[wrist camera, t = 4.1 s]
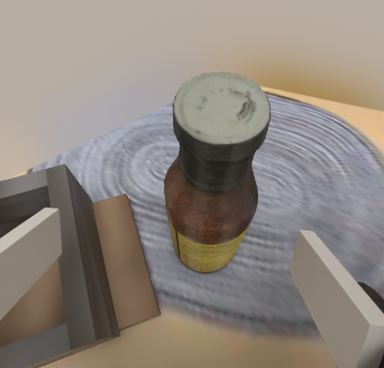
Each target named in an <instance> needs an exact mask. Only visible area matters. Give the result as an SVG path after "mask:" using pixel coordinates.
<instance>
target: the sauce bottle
mask: <svg viewBox="0 0 384 368" xmlns="http://www.w3.org/2000/svg"><path fill="white" fill-rule="evenodd" d="M270 117H271V109H270V103H269V101H268V98H267V96H266V94H265V92H264V91H263V90H262V89H261V87H260V86H259V85H258V84H256V83H255V82H254V81H252V80H250V79H248V78H247V77H244V76H241V75H237V74H232V73H224V72H220V73H205V74H201V75H199V76H196V77H194V78H192V79H191V80H189V81H187V82H186V83H185V84H184V85H183V86H182V87H181V88H180V89H179V91H178V92H177V94H176V96H175V99H174V102H173V127H174V133H175V135H176V137H177V140H178V141H179V144H180V151H179V155H178V157H177V158H176V159H175V161H174V162H173V163H172V165H171V166H170V167H169V169H168V171H167V174H166V177H165V180H164V184H165V186H164V194H165V199H166V212H167V217H168V221H169V226H170V230H171V235H172V239H173V244H174V248H175V251H176V254H177V256H178V257H179V258H180V260H181V262H182V263H183V264H184V265H185V266H186V267H188V268H189V269H191V270H193V271H197V272H200V273H210V272H214V271H217V270H219V269H221V268H223V267H224V266H226V265H227V264H228V263H229V262H230V260H231V259H232V258H233V256H234V254H235V253H236V251H237V249H238V247H239V245H240V243H241V241H242V239H243V237H244V235H245V233H246V231H247V229H248V227H249V225H250V223H251V221H252V219H253V216H254V214H255V211H256V208H257V203H258V190H257V185H256V181H255V177H254V174H253V170H252V160H253V156H254V154H255V152H256V150H258V149H259V147H260V146H261V145H262V143H263V142H264V140H265V137H266V134H267V130H268V126H269V122H270Z"/></svg>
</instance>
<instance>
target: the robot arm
mask: <svg viewBox="0 0 384 368" xmlns="http://www.w3.org/2000/svg"><path fill="white" fill-rule="evenodd" d="M61 254H62V244H61V229H60V214H59V209H56V208H44V209H42V210H41V211H40V212H38V213H37V214H35V215H34V216H32V217H31V218H29V219H28V220H26V221H25V222H23V223H22V224H21V225H19V226H18V227H16V228H15V229H13V230H12V231H10V232H9V233H7V234H6V235H4V236H3V237H2V238H0V320H1V319H2V318H3V317H4V316H5V315H6V314H7V313H8V312H9V311H10V309H11V308H12V307H13V306H14V305H15V304H16V303H17V302H18V301H19V300H20V299H21V297H22V296H23V295H24V294H25V293H26V292H27V291H28V290H29V289H30V288H31V287H32V285H33V284H34V283H35V282H36V281H37V280H38V279H39V278H40V277H41V276H42V275H43V273H44V272H45V271H46V270H47V269H48V268H49V267H50V266H51V265H52V264H53V262H54V261H55V260H56V259H57V258H58V257H59V256H60V255H61ZM290 275H291V277H292V279H293V281H294V283H295V285H296V287H297V289H298V291H299V293H300V294H301V296H302V298H303V300H304V302H305V304H306V306H307V308H308V310H309V312H310V314H311V316H312V318H313V320H314V322H315V324H316V326H317V328H318V330H319V332H320V334H321V336H322V338H323V340H324V342H325V344H326V346H327V348H328V350H329V352H330V354H331V356H332V358H333V360H334V362H335V364H336V366H337V367H338V368H384V300H383V299H382V298H381V296H380V295H379V294H378V293H377V292H376V291H375V290H373V289H372V288H371V287H369V286H368V285H366V284H365V283H360V282H356V281H355V280H354V278H353V277H352V276H351V275H350V274H349V272H348V271H347V270H346V269H345V268H344V267H343V265H342V264H341V263H340V262H339V261H338V260H337V258H336V257H335V256H334V255H333V254H332V252H331V251H330V250H329V249H328V248H327V247H326V245H325V244H324V243H323V242H322V241H321V240H320V238H319V237H318V236H317V235H316V234H315V232H314V231H308V230H299V232H298V237H297V242H296V247H295V251H294V256H293V261H292V265H291V270H290Z"/></svg>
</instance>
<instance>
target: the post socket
mask: <svg viewBox="0 0 384 368" xmlns="http://www.w3.org/2000/svg"><path fill="white" fill-rule="evenodd" d="M44 208H56V209H59V214H60V229H61V244H62V254H61V255H60V256H59V257H58V258H57V259H56V260H55V261H54V262H53V264H52V265H51V266H50V267H49V268H48V269H47V270H46V271H45V272H44V273H43V275H42V276H41V277H40V278H39V279H38V280H37V281H36V282H35V283H34V284H33V285H32V287H31V288H30V289H29V290H28V291H27V292H26V293H25V294H24V295H23V296H22V297H21V299H20V300H19V301H18V302H17V303H16V304H15V305H14V306H13V307H12V308H11V309H10V311H9V312H8V313H7V314H6V315H5V316H4V317H3V318H2V319H1V320H0V368H39V367H41V366H44V365H46V364H49V363H51V362H54V361H57V360H59V359H62V358H64V357H67V356H70V355H72V354H75V353H77V352H80V351H82V350H85V349H88V348H90V347H93V346H95V345H98V344H100V343H103V342H106V341H108V340H111V339H113V338H116V337H119V336H120V334H119V331H120V330H122V329H125V328H128V327H130V326H133V325H135V324H138V323H141V322H143V321H146V320H148V319H151V318H154V317H156V316H159V315H161V314H160V310H159V306H158V303H157V299H156V295H155V292H154V288H153V285H152V281H151V277H150V274H149V270H148V266H147V263H146V259H145V256H144V252H143V248H142V245H141V241H140V237H139V234H138V230H137V227H136V223H135V219H134V216H133V212H132V208H131V205H130V201H129V199H128V197H127V194H123V195H119V196H116V197H113V198H109V199H106V200H103V201H99V202H96V203H93V204H92V200H91V198H90V197H89V196H88V194H87V193H86V192H85V190H84V189H83V188H82V186H81V185H80V184H79V182H78V181H77V180H76V178H75V177H74V176H73V174H72V173H71V171H70V170H69V169H68V167H67V166H66V165H65V164H63V165H59V166H56V167H52V168H48V169H44V170H41V171H37V172H33V173H30V174H26V175H22V176H19V177H15V178H11V179H7V180H4V181H0V238H2V237H3V236H4V235H6V234H7V233H9V232H10V231H12V230H13V229H15V228H16V227H18V226H19V225H21V224H22V223H23V222H25V221H26V220H28V219H29V218H31V217H32V216H34V215H35V214H37V213H38V212H40V211H41V210H42V209H44Z"/></svg>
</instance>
